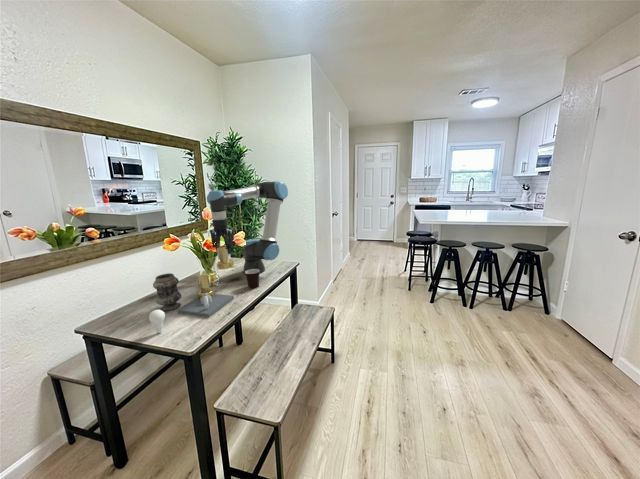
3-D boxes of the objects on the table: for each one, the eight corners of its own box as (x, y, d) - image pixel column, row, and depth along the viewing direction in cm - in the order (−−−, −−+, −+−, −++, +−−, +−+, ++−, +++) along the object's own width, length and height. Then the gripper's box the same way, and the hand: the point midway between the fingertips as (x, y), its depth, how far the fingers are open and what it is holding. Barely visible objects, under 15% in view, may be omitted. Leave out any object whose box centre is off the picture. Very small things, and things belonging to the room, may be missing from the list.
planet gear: (223, 263, 163) (221, 244, 160) (236, 264, 161) (234, 245, 158) (214, 269, 155) (211, 248, 152) (227, 270, 152) (225, 249, 150)
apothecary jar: (174, 300, 154) (168, 270, 150) (187, 304, 148) (182, 273, 144) (152, 310, 144) (146, 278, 139) (166, 315, 138) (160, 281, 134)
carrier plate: (205, 295, 159) (203, 281, 157) (234, 298, 153) (232, 284, 151) (177, 313, 139) (174, 297, 137) (209, 317, 134) (206, 300, 132)
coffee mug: (257, 289, 164) (255, 274, 162) (244, 289, 166) (242, 273, 164) (264, 282, 175) (263, 267, 173) (252, 281, 177) (250, 267, 175)
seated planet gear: (205, 292, 159) (202, 272, 156) (218, 293, 156) (215, 273, 153) (193, 299, 150) (190, 278, 147) (207, 300, 148) (204, 279, 145)
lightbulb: (153, 338, 118) (148, 315, 115) (151, 332, 123) (147, 310, 120) (168, 333, 121) (164, 310, 119) (166, 327, 126) (162, 305, 124)
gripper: (201, 219, 150) (207, 260, 156) (229, 220, 145) (234, 261, 151) (210, 217, 157) (215, 256, 163) (237, 217, 152) (242, 257, 158)
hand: (224, 258), depth 157 cm, fingers closed on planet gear, 5 cm apart
